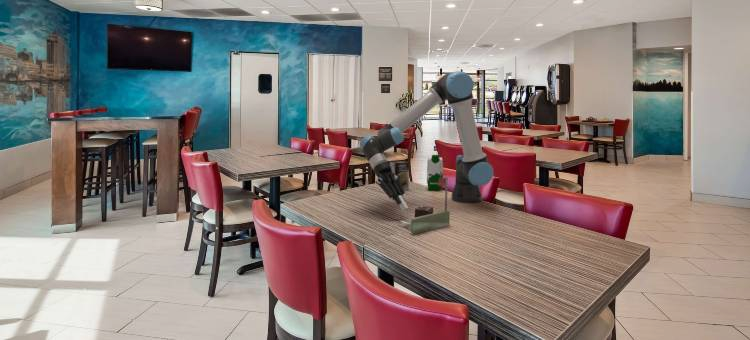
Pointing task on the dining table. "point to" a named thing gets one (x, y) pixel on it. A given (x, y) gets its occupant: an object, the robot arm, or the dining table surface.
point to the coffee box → (401, 172)
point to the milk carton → (434, 172)
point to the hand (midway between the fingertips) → (405, 209)
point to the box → (423, 211)
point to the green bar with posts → (429, 217)
